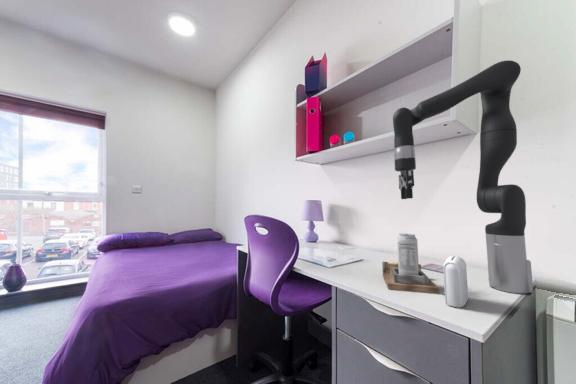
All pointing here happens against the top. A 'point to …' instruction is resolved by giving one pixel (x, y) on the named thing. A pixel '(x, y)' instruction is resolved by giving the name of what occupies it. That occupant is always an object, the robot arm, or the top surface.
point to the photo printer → (455, 281)
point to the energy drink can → (408, 254)
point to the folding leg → (387, 266)
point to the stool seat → (409, 282)
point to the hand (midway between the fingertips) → (406, 198)
